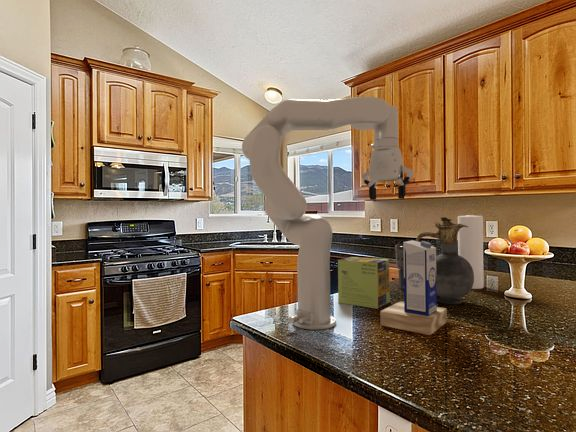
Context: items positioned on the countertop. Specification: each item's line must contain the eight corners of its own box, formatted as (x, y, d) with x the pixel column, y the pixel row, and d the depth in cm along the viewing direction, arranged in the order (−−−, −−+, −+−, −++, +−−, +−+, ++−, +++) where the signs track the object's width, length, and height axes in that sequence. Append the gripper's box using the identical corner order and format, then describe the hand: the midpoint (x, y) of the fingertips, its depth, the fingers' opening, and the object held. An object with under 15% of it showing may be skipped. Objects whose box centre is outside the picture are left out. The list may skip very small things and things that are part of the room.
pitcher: (473, 308, 120) (472, 217, 119) (413, 302, 129) (412, 217, 129) (475, 300, 129) (474, 216, 129) (419, 295, 139) (417, 216, 138)
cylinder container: (453, 285, 156) (452, 215, 156) (471, 283, 159) (470, 214, 159) (470, 289, 147) (469, 215, 147) (488, 287, 150) (488, 214, 150)
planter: (433, 286, 154) (432, 244, 153) (420, 292, 144) (420, 247, 144) (403, 283, 162) (403, 243, 162) (390, 288, 153) (389, 245, 152)
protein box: (378, 309, 121) (377, 262, 121) (337, 302, 130) (337, 259, 130) (390, 302, 129) (389, 259, 129) (351, 297, 139) (350, 256, 138)
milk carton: (413, 306, 108) (412, 239, 108) (437, 310, 104) (436, 240, 103) (404, 312, 102) (403, 241, 102) (428, 316, 98) (427, 242, 98)
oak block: (430, 335, 95) (430, 319, 95) (380, 325, 104) (380, 311, 104) (446, 322, 106) (446, 308, 106) (400, 313, 115) (400, 301, 115)
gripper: (356, 147, 119) (357, 200, 120) (407, 140, 108) (408, 198, 108) (367, 150, 125) (368, 200, 125) (417, 143, 114) (418, 198, 114)
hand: (386, 199), depth 117 cm, fingers open, 9 cm apart
